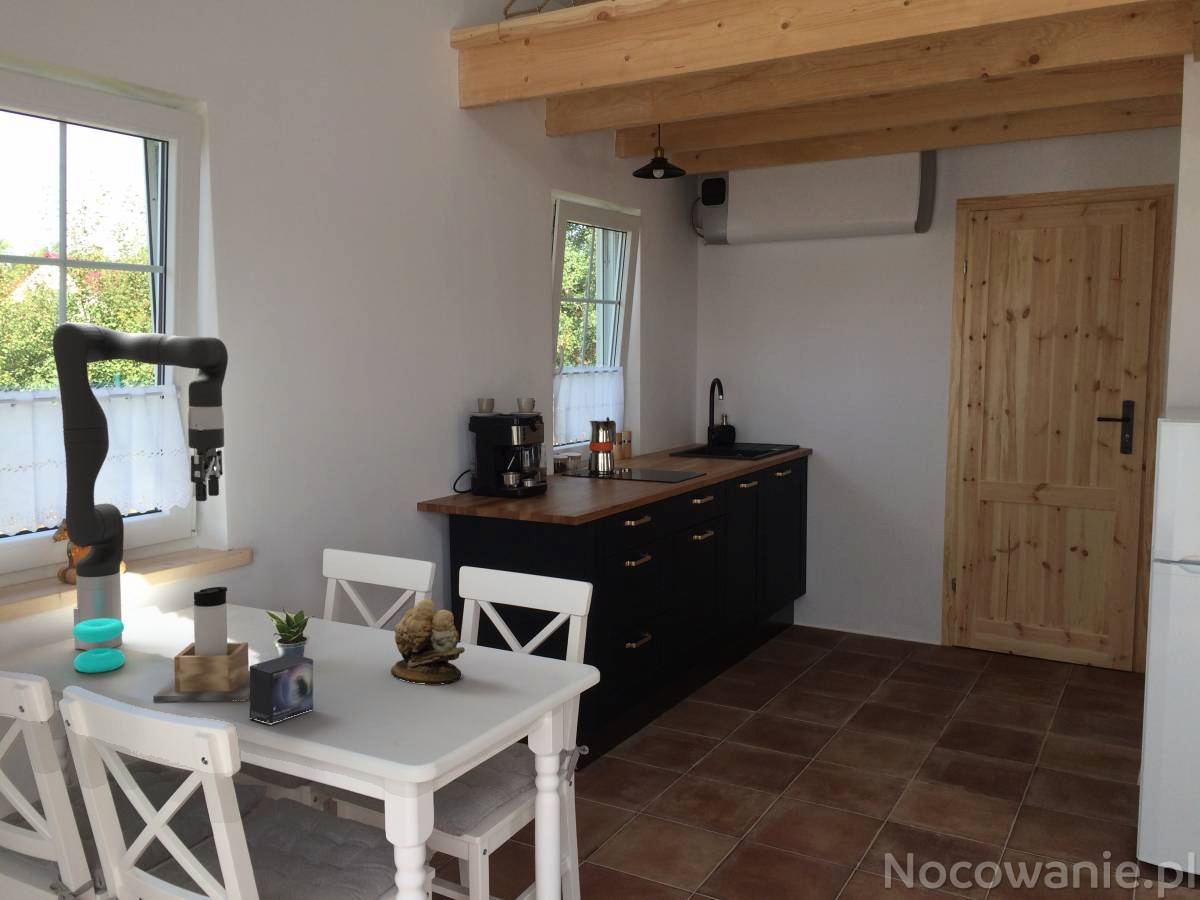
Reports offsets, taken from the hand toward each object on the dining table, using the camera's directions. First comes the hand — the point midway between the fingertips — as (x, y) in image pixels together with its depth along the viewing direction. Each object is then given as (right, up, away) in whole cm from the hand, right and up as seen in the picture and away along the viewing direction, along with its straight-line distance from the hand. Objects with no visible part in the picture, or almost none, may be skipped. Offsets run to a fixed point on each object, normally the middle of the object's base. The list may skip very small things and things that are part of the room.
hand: (207, 498), depth 229 cm
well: (+9, -38, -20) cm, 44 cm away
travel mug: (+9, -37, -20) cm, 43 cm away
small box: (+28, -40, -35) cm, 60 cm away
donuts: (-21, -37, -7) cm, 43 cm away
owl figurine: (+51, -38, -10) cm, 65 cm away
